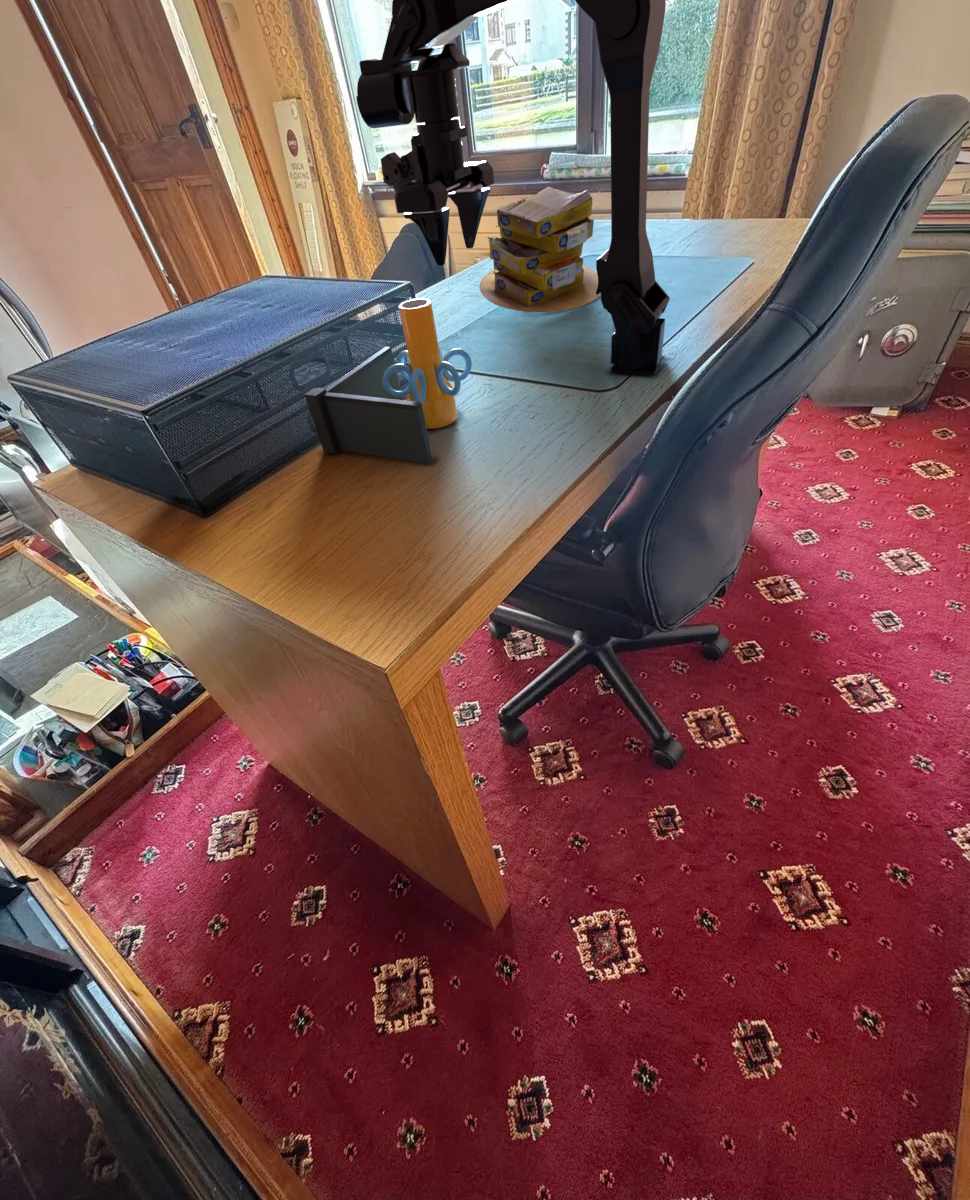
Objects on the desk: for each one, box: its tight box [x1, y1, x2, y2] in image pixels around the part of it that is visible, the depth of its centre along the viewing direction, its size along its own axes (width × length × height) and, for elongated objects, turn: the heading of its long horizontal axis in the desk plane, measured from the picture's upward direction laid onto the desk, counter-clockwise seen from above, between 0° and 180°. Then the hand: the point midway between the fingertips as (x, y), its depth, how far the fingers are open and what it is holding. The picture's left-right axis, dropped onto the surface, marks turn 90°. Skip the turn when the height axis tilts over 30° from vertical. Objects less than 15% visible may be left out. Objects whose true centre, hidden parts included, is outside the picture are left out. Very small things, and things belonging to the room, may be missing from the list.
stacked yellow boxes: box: [479, 186, 601, 313], centre depth 108 cm, size 25×25×17 cm
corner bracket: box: [303, 346, 434, 465], centre depth 75 cm, size 16×17×8 cm
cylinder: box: [383, 297, 473, 430], centre depth 73 cm, size 12×10×15 cm
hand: (455, 256), depth 84 cm, fingers open, 9 cm apart
